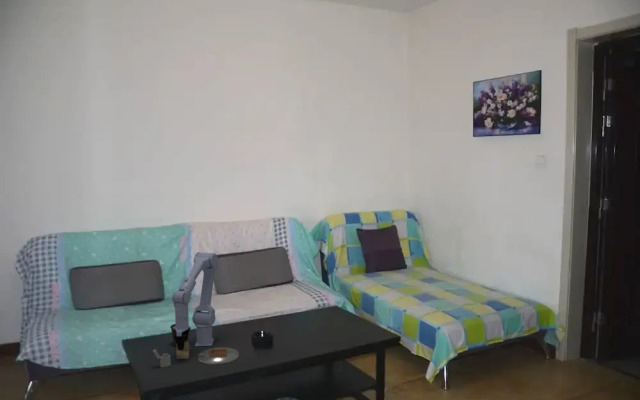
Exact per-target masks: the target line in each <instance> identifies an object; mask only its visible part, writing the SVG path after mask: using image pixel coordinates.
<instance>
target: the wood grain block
mask: <svg viewBox="0 0 640 400" xmlns="http://www.w3.org/2000/svg"><path fill="white" fill-rule="evenodd" d="M175 347H176V350H175V351H176V359H177V360H178V359H180V360H181V359H189V357H190V341H189V340H187V341H185V343H184V349H183V350H178V347H177V343H176V346H175Z"/></svg>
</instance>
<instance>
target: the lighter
mask: <svg viewBox="0 0 640 400" xmlns="http://www.w3.org/2000/svg"><path fill="white" fill-rule="evenodd" d="M152 352H153V354H154V355H155V357H156V359H157V360H159V362H160V363H159V364H160V368H167V367H171V364H172V363H171V354H169V353H167V352H166V353H162V355H160V354H159V352H158V351H157V349H156V348H154V349H153V350H152Z"/></svg>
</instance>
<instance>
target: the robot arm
mask: <svg viewBox="0 0 640 400" xmlns="http://www.w3.org/2000/svg"><path fill="white" fill-rule="evenodd" d="M218 261H219V258H218V256H217V254H216V253H215V252H196V253H195V255H194V256H193V264H192V265H193V266H192V268H191V270H190V273H189V275H188V276H186V277H185V278H184V279H183V281H182V283H181V285H180V286H179V287H178V289H177V290H176V291H174V292H173V294H172V297H171V301H172V303H173V307H174V312H175V313H174V317H175V318H174V319H175V323H174V324H176V326H174V327H173V329H175V330H176V332H177V334H174V335H173V337H174V339H175V340H176V343H177V347H178V350H183V349H184V343H185V341H189V340H188V339H189V334H190V330H191V329H192V328H191V326H190V325H189V321H190V320H189V303H190V301H191V300H192V292H193V290H194V289H195V286H197V281H196V280H197V278H198V277H199V275H200V274H201V273H202V272H203V275H202V276H203V277H202V284H201V292H200V299H199V300H200V301H199V305H197V306H195V308H194V312H193V313H192V318H191V319H192V323H193V324H194V326H195V327H196V328H195V329H196V342H195V345H194V347H210V346H213V343H214V342H215V337H214V338H213V325H214V324H215V322H216V310H215V308H214V307H213V306H212V305H211V303H212V296H213V287H214V279H215V274H216V273H215V271H217V269H218ZM173 337H172V338H173Z"/></svg>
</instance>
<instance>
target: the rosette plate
mask: <svg viewBox="0 0 640 400" xmlns="http://www.w3.org/2000/svg"><path fill="white" fill-rule="evenodd" d="M239 356H240V352H239V350H237V349H235V348H231V347H213V348H209V349H208V348H207V349H206V350H203V351H201V352H200V353H198V356H197V359H198V362H199V363H202V364H206V365H214V366H215V365H226V364H229V363H231V362H234V361H237V359H238V358H239Z"/></svg>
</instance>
